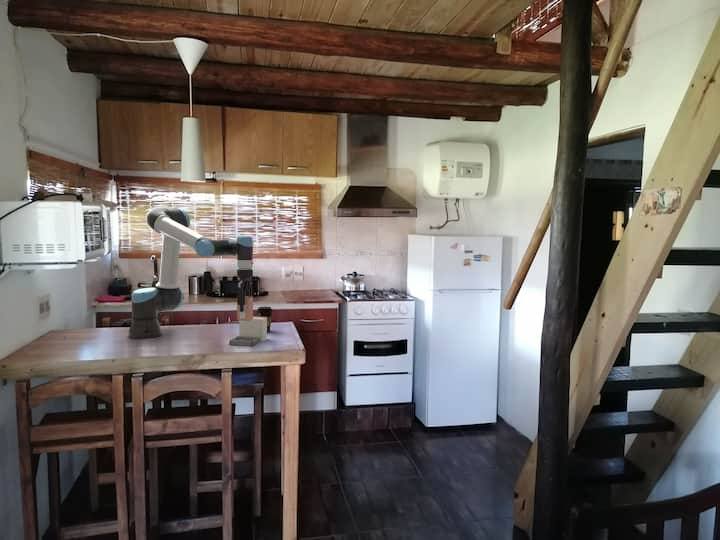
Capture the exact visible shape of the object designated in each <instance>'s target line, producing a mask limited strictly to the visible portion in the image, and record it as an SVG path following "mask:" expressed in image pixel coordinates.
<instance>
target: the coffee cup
mask: <svg viewBox="0 0 720 540" xmlns="http://www.w3.org/2000/svg"><path fill="white" fill-rule="evenodd" d="M272 312H274V311H273V309H272V307H271V306H259V307H257V309H256V317H267V333H269V332H271V325H272V319H273V318H272V317H273V314H272Z"/></svg>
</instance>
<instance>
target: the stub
mask: <svg viewBox="0 0 720 540" xmlns="http://www.w3.org/2000/svg"><path fill="white" fill-rule="evenodd" d="M245 305H246V318H245V319H242V318H240V310H239V305H237V304H236V320H237V321H238V322H239V321H250V320H252V319H253V316H254V296H253V295H252V296H245Z"/></svg>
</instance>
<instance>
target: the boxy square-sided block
mask: <svg viewBox="0 0 720 540" xmlns="http://www.w3.org/2000/svg"><path fill="white" fill-rule="evenodd" d="M238 325H239V326H238V327H239V328H238V330H239V332H238V333H239V335H238V336H246V337H259V342H260V343H261V342H265V341H266V340H267V339H268V332H267V317H257V315H256V316H254V315H253V319H252V320H250V321H238Z"/></svg>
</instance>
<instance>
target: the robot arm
mask: <svg viewBox="0 0 720 540" xmlns="http://www.w3.org/2000/svg"><path fill="white" fill-rule="evenodd" d="M145 223H146V225H147V226H148V228H149V229H151V230H152V231H153V232H156V233H157V234H160V235H161V236H162V243H161V244H162V245H161V255H160V267H159V268H160V269H159V270H160V271H159V281H158V282H157V283H156V284H155V287H144V288H143V287H142V288H138V289H136V290H134V291H133V292H132V293H131V301H130V302H131V319H132V320H131V323H130V327H129V330H128V332H127V333H128V337H129V338H131V339H150V338H157V337H160V336H161V335H162V328H161V326H160V322H159V320H158V313H162V312H168V311H169V312H170V311H174V310H176V309H179V308H180V307H181V306H182V305H183V302H184V297H185V296H184V293H183V290H182V289H181V287H180V285H179V284H178V272H179V262H180V252H181V251H180V250H181V244H183V245H184V246H186V247H189V248H190V249H192V250H194V252H195V253H196V255H197V256H198V257H200V258H201V257H202V258H209V257H210V258H211V257H224V256H225V257H226V256H227V257H228V256H230V257H231V256H234V257H236V268H237V269H236V277H237V278H239V282H237V283H236V289H237V292H236V306H237V305H239V310H240V318H242V319H245V318H246V305H245V296H252V297H253V282H254V281H253V280H251V278H253V276H254V270H253V268H254V263H255V262H254V260H253V259H254V257H253V256H254V242H253V237H252V236H250V235H246V236H245V235H237V237H236V239H210V238H208V237H205V235H202V234H200V233H198V232H197V231H194V230H192V229H190V226H191V219H190V215H189V214H188V213H187V211H186V210H185V209H183V208H177V207H165V206H164V207H162V206H157V207H152V208H151V209H150V210H148V212H147V213H146V215H145Z"/></svg>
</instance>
